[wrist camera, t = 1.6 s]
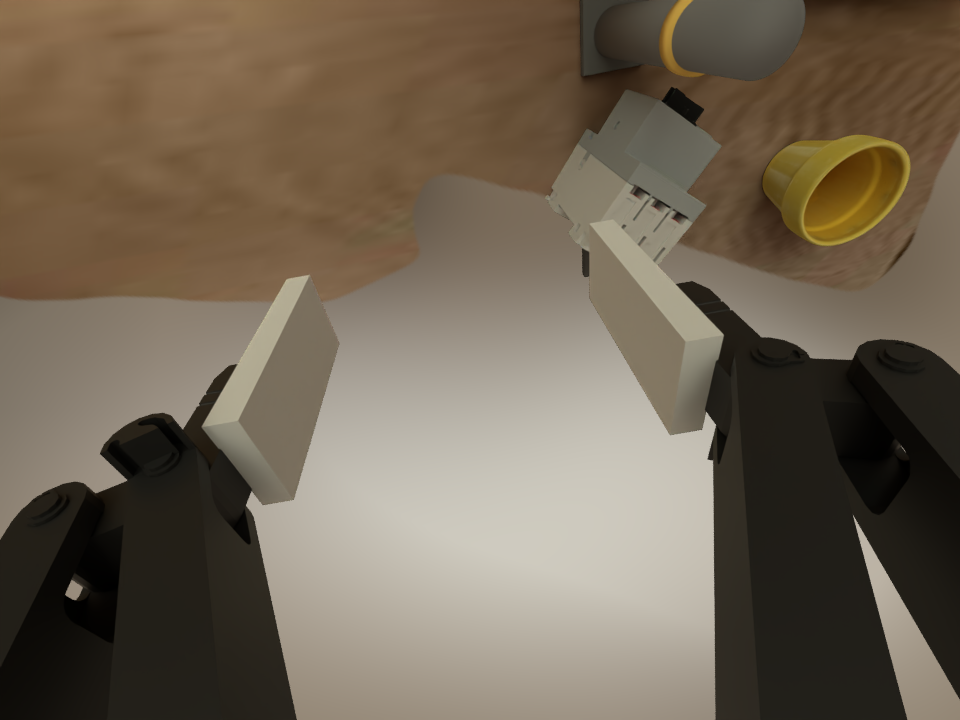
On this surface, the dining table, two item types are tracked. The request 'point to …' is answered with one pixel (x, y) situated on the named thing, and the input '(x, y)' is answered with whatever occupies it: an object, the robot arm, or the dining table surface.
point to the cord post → (690, 35)
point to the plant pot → (836, 186)
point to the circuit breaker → (637, 172)
